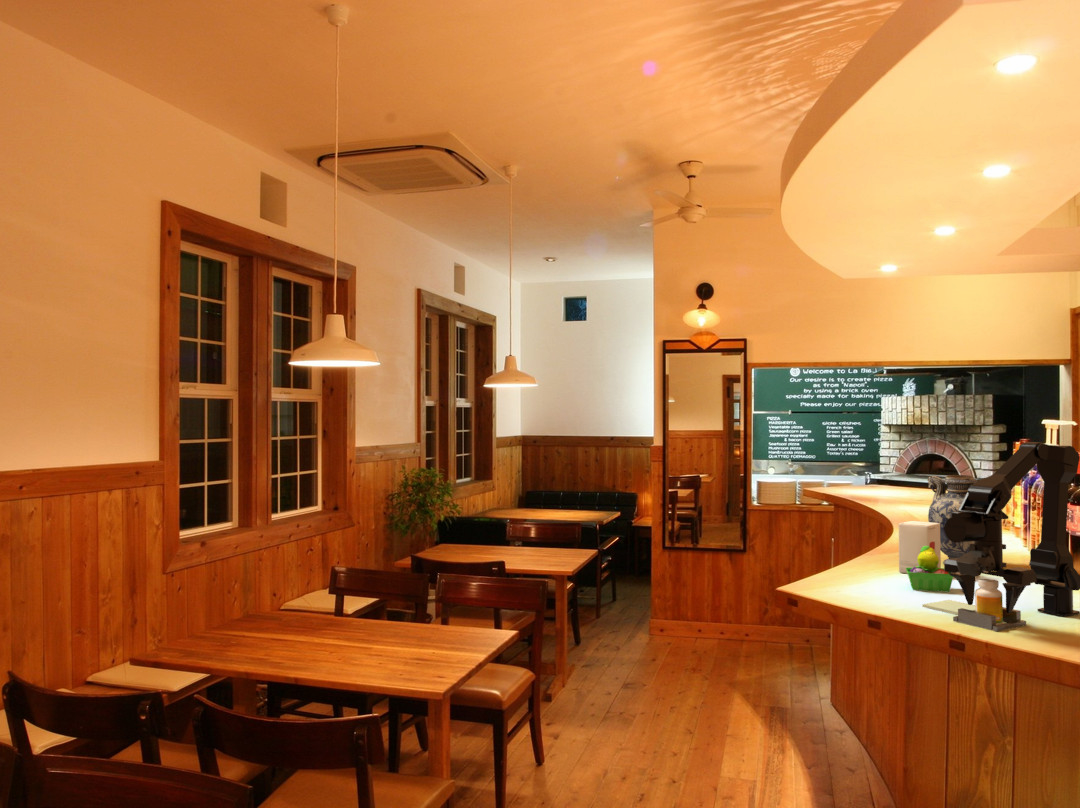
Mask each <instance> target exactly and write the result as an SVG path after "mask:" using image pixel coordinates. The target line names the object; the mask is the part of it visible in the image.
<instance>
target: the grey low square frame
mask: <svg viewBox="0 0 1080 808" xmlns="http://www.w3.org/2000/svg"><path fill="white" fill-rule="evenodd" d="M1021 618H1022V613H1021V610H1020V609H1019V610H1018V609H1015V608H1013V610H1012V612H1011V613H1007V611H1006V606H1005V607H1004V606H1003V624H1000V625H996V616H995V615H990V614H986V613H981V612H977V611H972V610H968V609H963V608H961V609H958V615H955V616H953V617H952V620H953V622H955V623H960V624H964V625H969V626H972V627H977V628H981V629H983V630H984V629H985V630H989V631H993V632H1001V631H1005V630H1012V629H1015V628H1016V627H1017V628H1020V627H1021V628H1022V627H1026V626H1027V620H1024V619H1021Z"/></svg>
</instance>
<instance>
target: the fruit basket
mask: <svg viewBox="0 0 1080 808" xmlns="http://www.w3.org/2000/svg"><path fill="white" fill-rule="evenodd" d="M920 552H921V553H920V554H919V555H918V558H917V561H918V564H919V566H916V567H913V568H906V571H907V573H908V574H907V576H908V579H909V582H910V586H911V589H912V590H913V591H925V592H943V593H944V592H945V593H949V592H950V591H951V588H952V587H951V586H952V583H953V579H954V577H953V576H950V575H949V573H951V572H946V571H944V567H941V568H938V567H937V565H938V563H939V558H938V556H937V555H936V553H935V551H934V549H932V548H930V547H929V546H923V547H922V548H921V551H920Z"/></svg>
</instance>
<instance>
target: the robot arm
mask: <svg viewBox="0 0 1080 808" xmlns="http://www.w3.org/2000/svg"><path fill="white" fill-rule="evenodd" d="M1079 464H1080V453H1079V452H1078V451H1077V450H1076V448H1075V447H1074V446H1071V445H1061V444H1060V445H1055V444H1053V445H1050V444H1047V443H1043V442H1041V441H1040V442H1039V441H1038V442H1036V441H1035V442H1034V441H1026V442H1022V443H1021V444H1020V445H1019V446H1018V449H1017V450H1016V451H1015V452H1014V453H1013V454H1012V455H1011V456H1010V457H1009V458H1008V459H1007V460H1006V461H1005V462H1004V463H1003V464H1002V465H1001V466H1000V467H999V468H998V469H997V470H996V471H995V472H994V473H992V474H991V475H989V476H986V477H984V478H980V479H979V480H977V482H976V483H974V484H972V485H971V486H970V488H969V489H968V492H967V494H966V496H965V498H964V500H963V502H962V504H961V506H960V508H959V510H958V512H956V511H955V512H952V517H951V518H949V519H948V520H947V522H946V524H945V526H944V531H945V534H946V536H947V538H948V539H949V540H950V541H952V542H955V543H959V542H969V541H974V543H972V544H970V546H969V552H968V553H965V554H964V555H962V556H961V557H959V558H953V559H949V558H946V559H947V560H946V559H945V560H946V561H945V563H944V564H943V568H944V571H946V572H951V573H949V575H950V576H953V579H955V580H956V581H957V582H958V584H959V586H960V588H961V590H962V593H963V595H964V598H965V600H966V602H967V604H968V605H974V604H973V603H974V600H975V589H976V588H975V587H976V586H975V585H976V577H979V576H981V575H990V576H995V577H1000V578H1001V577H1002V578H1003V580H1004V581H1005V582H1003V583H1002V586H1003V588H1004V590H1005V608H1006V611H1007V613H1011V612H1012V610H1013V609H1015V606H1016V604H1017V602H1018V600H1019V598H1020V596H1021V595H1022V593H1023V591H1024V590H1025V589H1026V587H1028V586H1031V585H1032V584H1033V583H1034V585H1041V586H1043V587H1042V588H1043V594H1042V599H1043V601H1042V602H1043V607H1040V608H1037V611H1038V612H1042V613H1045V614H1051V615H1055V616H1060V617H1069V616H1074V615H1078V614H1080V610H1075V609H1074V591H1080V574H1079V572H1078V571H1077V570H1076V568H1075V567H1074V566H1075V565H1074V556H1073V555H1072V553H1071V551H1070V550H1069V547H1067V542H1066V541H1067V524H1068V520H1067V519H1068V503H1069V501H1068V500H1069V486H1070V483H1071V481H1072V480H1073V479H1074V478H1075V476H1076V475H1077V474H1078V468H1079ZM1035 466H1036V470H1037V472H1038V474H1039V475H1040V478H1041V479H1042V481H1043V494H1042V495H1043V496H1042V513H1041V514H1042V515H1041V516H1042V517H1041V531H1040V532H1041V533H1040V535H1041V536H1040V543H1038V545H1037V546H1036V547H1035V548H1030V551H1029V554H1030V556H1029V557H1030V558H1029V559H1030V560H1029V563H1028V565H1029V567H1030V568H1027V567H1026V568H1025V567H1020V566H1016V567H1009V568H1007V562H1004V560H1003V559H1004V558H1003V556H1004V555H1003V550H1006V549H1007V544H1005V543H1003V520H1008V519H1009V515H1007V514H1006V513H1005V512H1004V511H1003V510H1004V508H1005V507H1006V506H1007V505H1008V503H1009V501H1010V500H1011V499H1012V490H1013V488H1014V487H1015V486H1016V485H1018V483H1020V482H1021V480H1022V479H1023V478H1024V477H1026V475H1027V474H1029V473H1030V471H1031V470H1032V469H1033V468H1034V467H1035Z"/></svg>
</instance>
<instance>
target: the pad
mask: <svg viewBox="0 0 1080 808" xmlns="http://www.w3.org/2000/svg"><path fill="white" fill-rule="evenodd" d="M921 606H922V608H926V609H931V610H935V611H940V612H942V613H943V612H944V613H948V614H952V615H955V616H958V609H961V608H963V609H968V610H972V611H976V604H972V605H968V603H966V602H960V601H957V600H952V599H946V600H939V601H935V602H934V601H933V602H928V603H923V604H922V605H921Z"/></svg>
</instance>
